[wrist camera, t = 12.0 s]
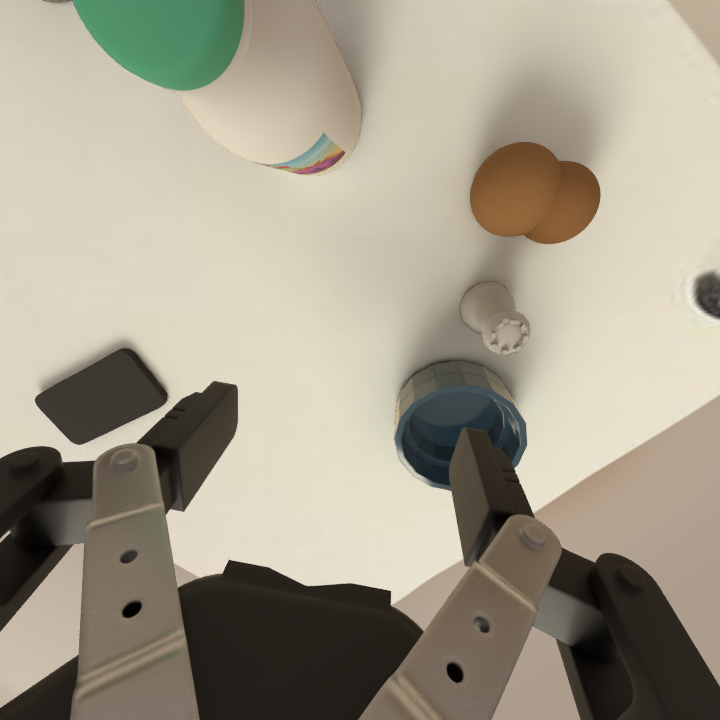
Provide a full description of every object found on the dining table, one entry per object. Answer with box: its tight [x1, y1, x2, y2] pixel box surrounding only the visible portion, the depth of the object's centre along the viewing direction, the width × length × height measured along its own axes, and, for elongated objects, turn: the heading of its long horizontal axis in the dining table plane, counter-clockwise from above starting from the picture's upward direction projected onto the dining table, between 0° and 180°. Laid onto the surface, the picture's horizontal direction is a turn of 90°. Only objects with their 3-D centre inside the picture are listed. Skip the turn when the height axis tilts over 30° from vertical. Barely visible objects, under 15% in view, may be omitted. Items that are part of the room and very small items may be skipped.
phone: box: [35, 349, 167, 445], centre depth 40 cm, size 7×1×15 cm
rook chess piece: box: [460, 282, 530, 355], centre depth 28 cm, size 4×4×8 cm
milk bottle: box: [73, 0, 361, 176], centre depth 18 cm, size 8×8×20 cm
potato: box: [470, 142, 600, 244], centre depth 25 cm, size 6×9×6 cm
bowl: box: [394, 361, 527, 491], centre depth 34 cm, size 11×11×6 cm
